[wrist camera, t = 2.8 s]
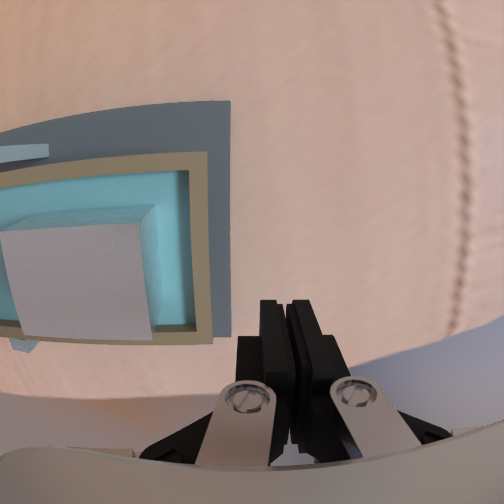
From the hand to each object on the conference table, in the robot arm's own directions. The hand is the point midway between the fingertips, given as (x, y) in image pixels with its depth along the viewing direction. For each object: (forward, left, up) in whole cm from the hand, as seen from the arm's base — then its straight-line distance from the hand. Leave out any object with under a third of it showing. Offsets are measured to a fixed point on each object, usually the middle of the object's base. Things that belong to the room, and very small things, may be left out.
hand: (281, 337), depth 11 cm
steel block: (-10, 0, -8) cm, 13 cm away
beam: (-19, 0, -8) cm, 21 cm away
